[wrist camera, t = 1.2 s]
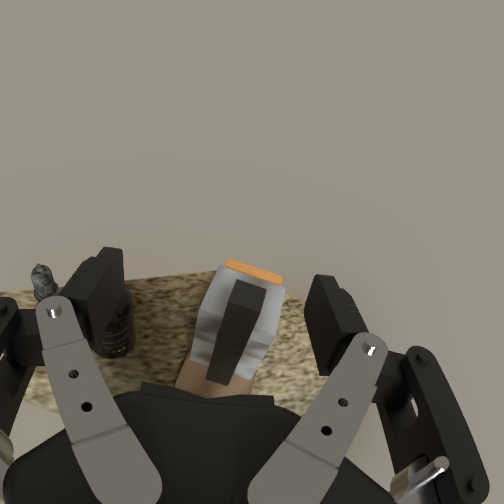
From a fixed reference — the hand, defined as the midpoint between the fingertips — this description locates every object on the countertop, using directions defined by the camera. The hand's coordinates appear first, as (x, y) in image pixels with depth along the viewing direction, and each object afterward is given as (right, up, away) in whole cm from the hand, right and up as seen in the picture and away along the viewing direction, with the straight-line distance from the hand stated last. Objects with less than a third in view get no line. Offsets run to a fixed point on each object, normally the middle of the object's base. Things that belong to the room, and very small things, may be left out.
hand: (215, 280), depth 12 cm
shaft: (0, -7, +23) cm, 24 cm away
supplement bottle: (-17, -11, +24) cm, 32 cm away
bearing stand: (-2, -13, +28) cm, 31 cm away
